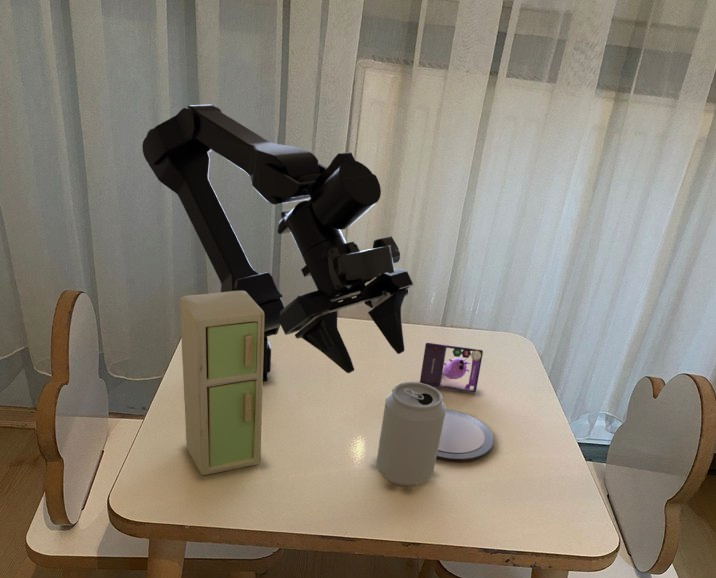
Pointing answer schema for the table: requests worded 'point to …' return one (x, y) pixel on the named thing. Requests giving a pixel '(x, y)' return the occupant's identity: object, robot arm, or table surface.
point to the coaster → (463, 438)
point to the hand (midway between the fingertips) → (377, 361)
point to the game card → (449, 366)
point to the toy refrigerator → (222, 379)
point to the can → (410, 433)
